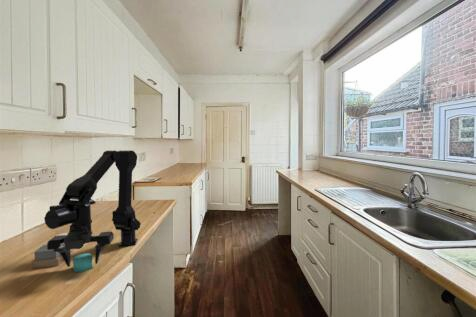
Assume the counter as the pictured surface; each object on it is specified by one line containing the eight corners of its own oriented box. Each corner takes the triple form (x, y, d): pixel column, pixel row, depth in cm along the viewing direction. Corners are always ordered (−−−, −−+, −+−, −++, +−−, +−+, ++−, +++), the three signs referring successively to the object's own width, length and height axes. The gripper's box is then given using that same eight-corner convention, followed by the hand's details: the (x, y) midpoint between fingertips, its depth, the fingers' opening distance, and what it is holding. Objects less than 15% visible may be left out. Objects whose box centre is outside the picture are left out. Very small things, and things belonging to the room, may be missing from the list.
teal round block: (77, 265, 89) (76, 254, 88) (94, 263, 90) (94, 252, 90) (70, 273, 83) (70, 261, 83) (89, 271, 85) (88, 259, 84)
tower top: (44, 252, 94) (43, 244, 93) (64, 250, 95) (63, 243, 95) (34, 260, 87) (34, 251, 87) (56, 258, 89) (56, 249, 89)
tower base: (43, 259, 94) (43, 252, 94) (68, 257, 96) (67, 249, 96) (32, 270, 87) (31, 261, 86) (58, 267, 89) (58, 258, 88)
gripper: (36, 229, 76) (38, 280, 77) (104, 224, 80) (106, 272, 81) (54, 219, 87) (56, 263, 87) (113, 215, 91) (114, 257, 92)
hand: (82, 264), depth 87 cm, fingers open, 8 cm apart
